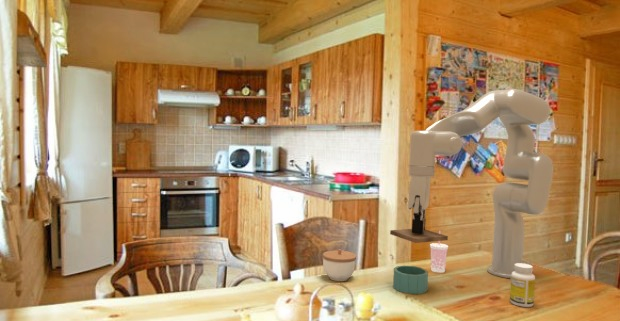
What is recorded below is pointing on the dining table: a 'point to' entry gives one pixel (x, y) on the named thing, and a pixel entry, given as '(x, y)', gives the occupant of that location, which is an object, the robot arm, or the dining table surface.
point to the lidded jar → (339, 264)
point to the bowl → (410, 279)
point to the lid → (419, 235)
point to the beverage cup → (438, 257)
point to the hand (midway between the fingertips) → (418, 231)
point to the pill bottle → (522, 285)
